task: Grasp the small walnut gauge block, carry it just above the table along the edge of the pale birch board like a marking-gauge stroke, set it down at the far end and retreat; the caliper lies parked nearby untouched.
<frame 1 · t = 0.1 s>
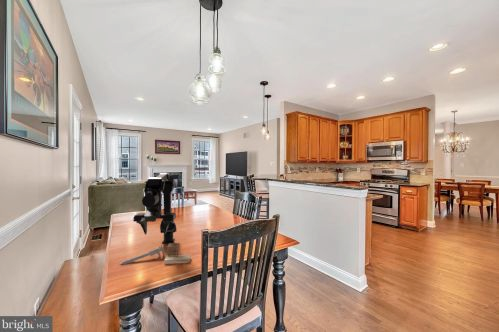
hand: (155, 234, 104), 14 cm above the table, fingers open, 9 cm apart
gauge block: (172, 255, 112), on the table
caliper: (143, 260, 107), on the table
board: (177, 261, 106), on the table
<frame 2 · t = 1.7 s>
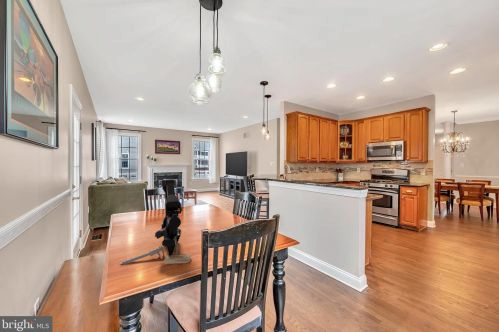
hand: (172, 252, 112), 2 cm above the table, fingers open, 8 cm apart
nothing on the table moved.
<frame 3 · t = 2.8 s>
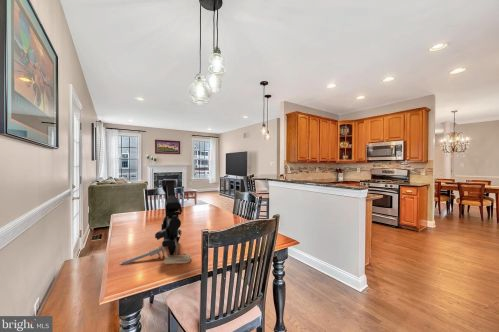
hand: (172, 253, 112), 1 cm above the table, fingers closed on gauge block, 4 cm apart
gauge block: (172, 256, 112), on the table, touching gripper
everything else where it was.
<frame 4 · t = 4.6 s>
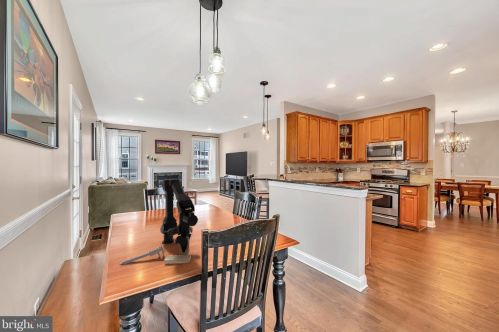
hand: (184, 250, 113), 3 cm above the table, fingers closed on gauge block, 4 cm apart
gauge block: (184, 252, 113), point 1 cm above the table, touching gripper
everything else where it was.
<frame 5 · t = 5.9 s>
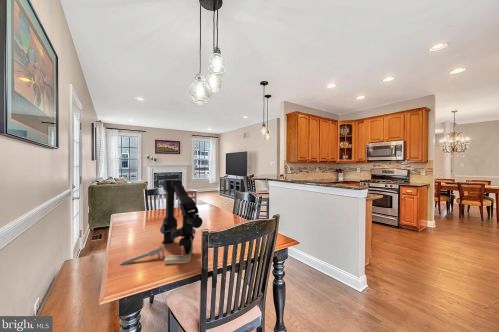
hand: (187, 252, 113), 1 cm above the table, fingers closed on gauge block, 4 cm apart
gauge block: (187, 254, 113), on the table, touching gripper
everything else where it was.
when the fingers open (1 cm above the table, at t = 6.5 s): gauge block stays where it is, on the table.
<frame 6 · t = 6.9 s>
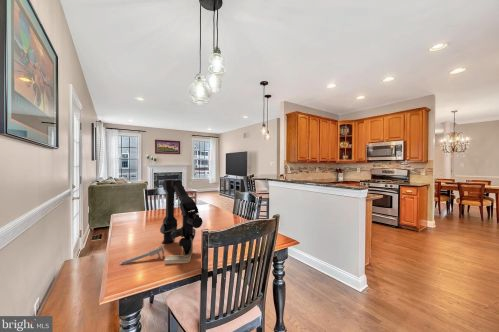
hand: (187, 252, 113), 1 cm above the table, fingers open, 8 cm apart
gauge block: (187, 254, 113), on the table
everything else where it was.
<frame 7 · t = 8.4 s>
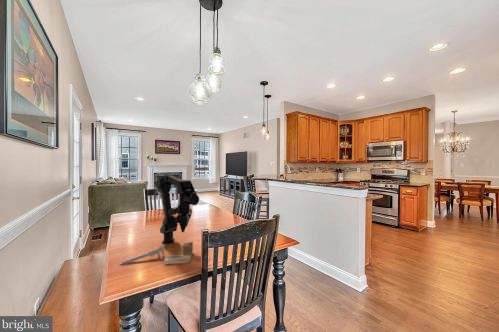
hand: (184, 229, 119), 12 cm above the table, fingers open, 9 cm apart
nothing on the table moved.
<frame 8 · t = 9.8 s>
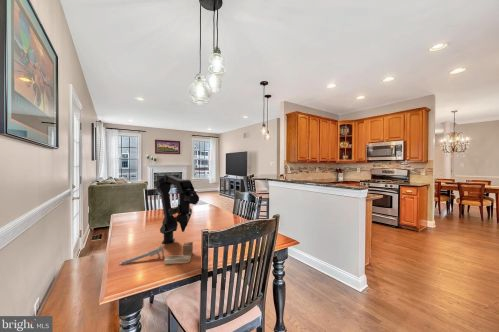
hand: (184, 229, 119), 12 cm above the table, fingers open, 9 cm apart
nothing on the table moved.
at the end: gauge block 0.4 cm from the target spot, on the table; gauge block tilted 0°; the gripper is holding nothing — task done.
